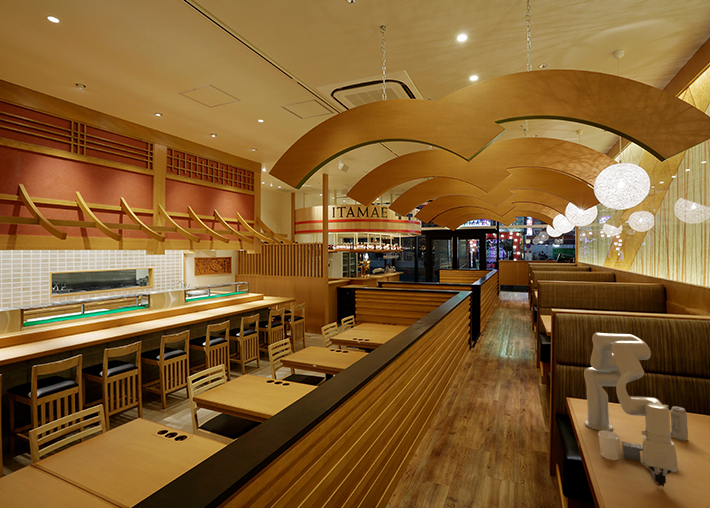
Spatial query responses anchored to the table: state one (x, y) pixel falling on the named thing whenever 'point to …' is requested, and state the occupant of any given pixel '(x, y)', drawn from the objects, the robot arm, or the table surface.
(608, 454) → the white cup
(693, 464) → the table surface
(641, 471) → the table surface
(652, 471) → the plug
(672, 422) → the energy drink can
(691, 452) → the table surface
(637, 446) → the grey long block
